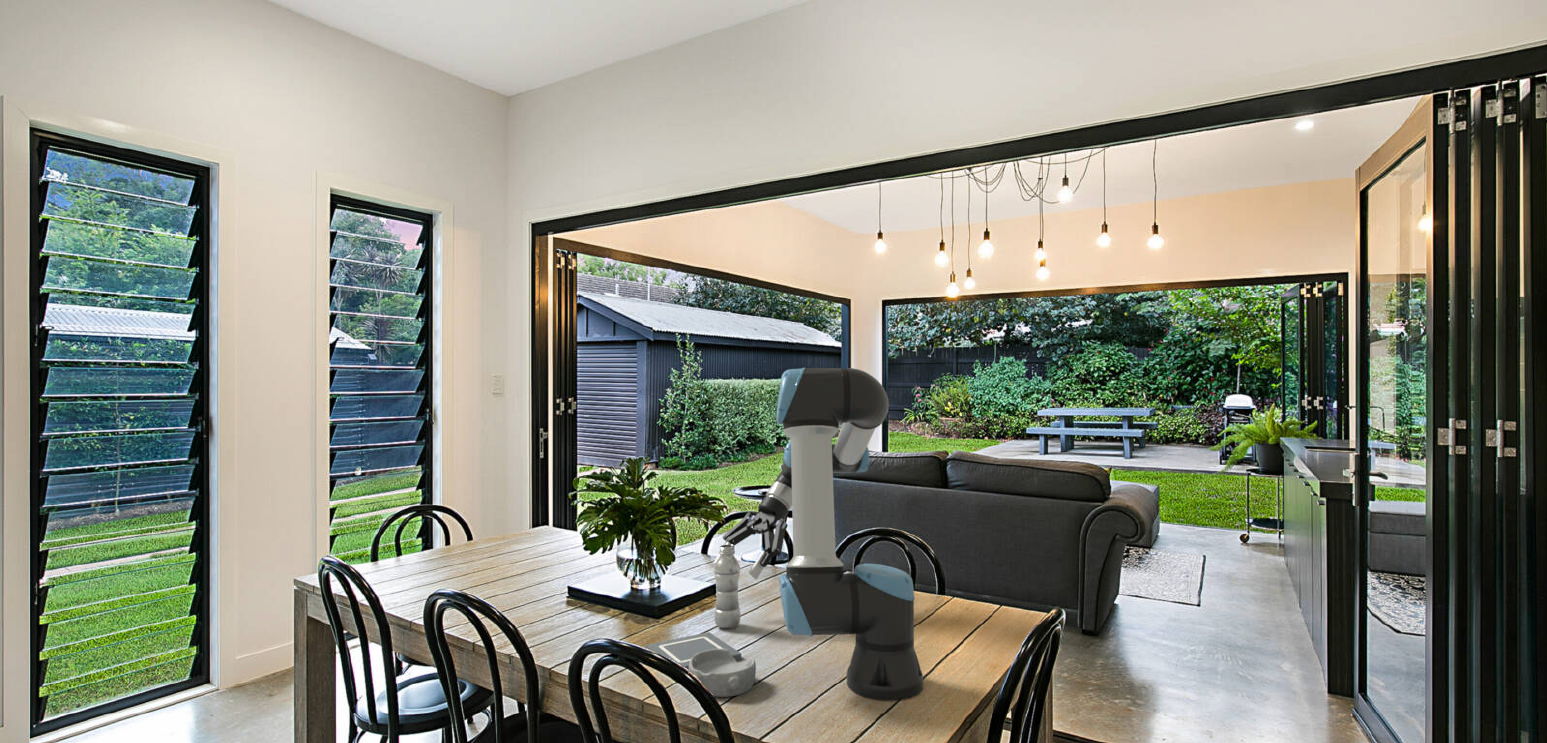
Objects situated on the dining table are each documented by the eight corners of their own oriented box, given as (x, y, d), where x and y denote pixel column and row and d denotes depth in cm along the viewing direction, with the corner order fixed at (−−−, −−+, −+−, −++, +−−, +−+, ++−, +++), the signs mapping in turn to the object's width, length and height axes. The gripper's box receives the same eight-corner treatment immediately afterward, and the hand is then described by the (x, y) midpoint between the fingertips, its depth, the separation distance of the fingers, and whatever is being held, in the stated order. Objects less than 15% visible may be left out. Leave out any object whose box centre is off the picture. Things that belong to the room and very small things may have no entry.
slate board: (741, 659, 161) (741, 653, 161) (673, 674, 153) (673, 668, 153) (709, 637, 175) (709, 632, 175) (645, 650, 166) (645, 644, 166)
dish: (707, 667, 157) (707, 644, 157) (767, 677, 151) (766, 653, 152) (672, 694, 143) (672, 669, 143) (736, 706, 138) (736, 680, 138)
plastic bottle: (746, 625, 183) (745, 545, 183) (730, 633, 177) (729, 550, 177) (725, 621, 186) (724, 542, 186) (708, 628, 180) (708, 547, 181)
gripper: (818, 518, 188) (776, 589, 177) (753, 506, 206) (711, 570, 195) (803, 500, 184) (760, 571, 174) (738, 489, 202) (695, 553, 192)
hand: (734, 571), depth 184 cm, fingers open, 13 cm apart
